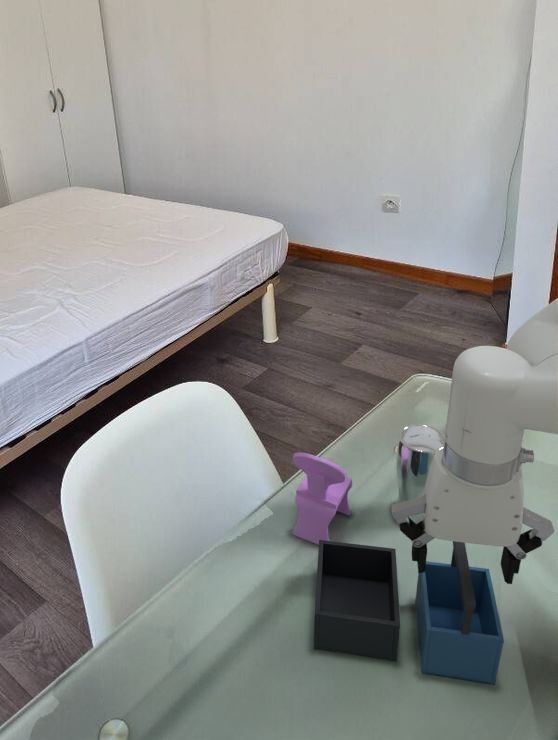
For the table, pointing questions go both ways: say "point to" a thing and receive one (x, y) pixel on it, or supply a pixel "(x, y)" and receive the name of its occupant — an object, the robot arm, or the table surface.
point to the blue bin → (458, 621)
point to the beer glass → (415, 460)
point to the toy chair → (319, 496)
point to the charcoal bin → (357, 600)
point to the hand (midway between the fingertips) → (462, 568)
